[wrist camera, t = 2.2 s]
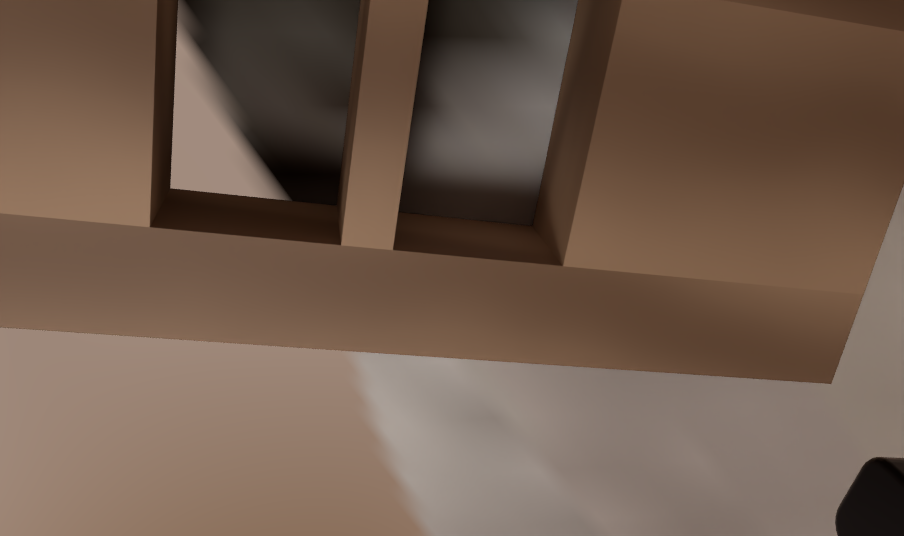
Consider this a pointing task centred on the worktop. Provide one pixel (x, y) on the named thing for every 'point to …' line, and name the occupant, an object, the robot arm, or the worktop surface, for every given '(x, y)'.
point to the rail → (471, 241)
